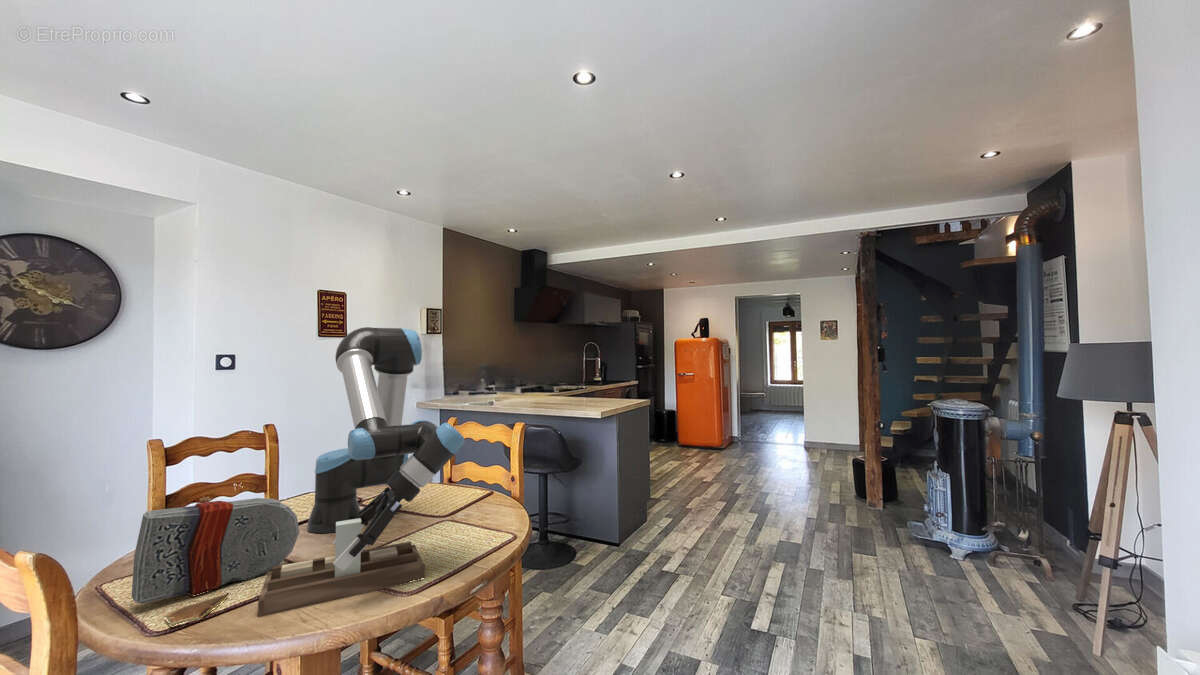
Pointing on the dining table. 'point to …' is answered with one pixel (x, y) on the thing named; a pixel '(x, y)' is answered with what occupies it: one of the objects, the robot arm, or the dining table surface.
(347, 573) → the tall sheet
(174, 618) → the shard
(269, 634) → the dining table surface
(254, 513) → the decorative stone tablet
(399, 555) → the walnut rack
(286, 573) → the birch offcut
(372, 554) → the birch offcut
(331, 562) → the birch offcut
